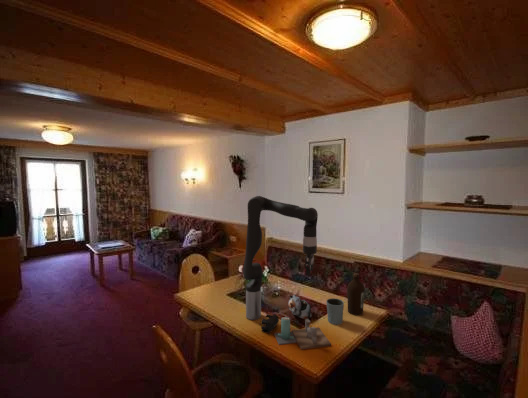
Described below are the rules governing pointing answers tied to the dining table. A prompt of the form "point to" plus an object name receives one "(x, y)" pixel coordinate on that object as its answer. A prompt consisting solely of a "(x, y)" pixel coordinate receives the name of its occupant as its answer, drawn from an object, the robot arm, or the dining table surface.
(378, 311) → the dining table surface
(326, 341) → the square mounting plate
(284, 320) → the teal teardrop shape
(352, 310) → the olive oil
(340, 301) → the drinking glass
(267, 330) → the black lumpy shape
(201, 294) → the dining table surface
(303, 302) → the lucky cat figurine
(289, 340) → the mat
